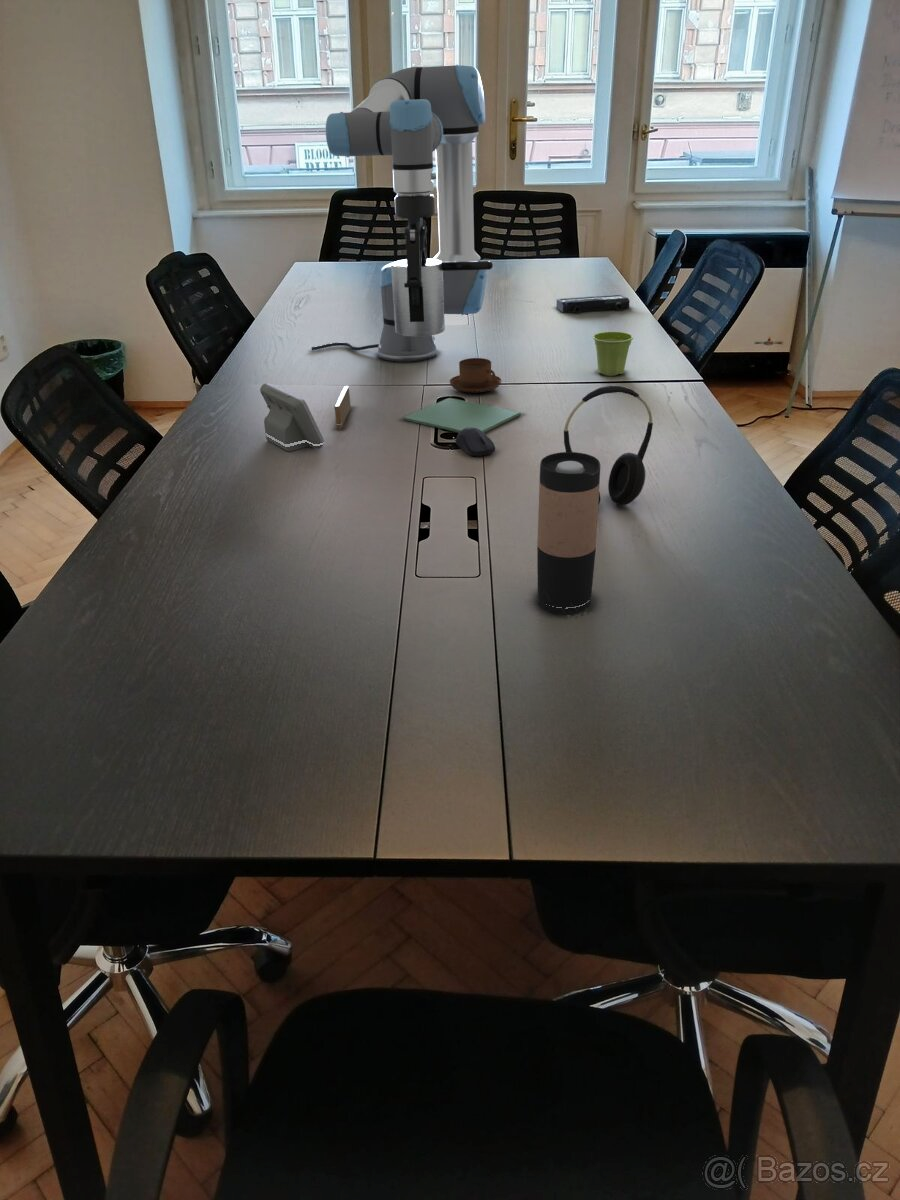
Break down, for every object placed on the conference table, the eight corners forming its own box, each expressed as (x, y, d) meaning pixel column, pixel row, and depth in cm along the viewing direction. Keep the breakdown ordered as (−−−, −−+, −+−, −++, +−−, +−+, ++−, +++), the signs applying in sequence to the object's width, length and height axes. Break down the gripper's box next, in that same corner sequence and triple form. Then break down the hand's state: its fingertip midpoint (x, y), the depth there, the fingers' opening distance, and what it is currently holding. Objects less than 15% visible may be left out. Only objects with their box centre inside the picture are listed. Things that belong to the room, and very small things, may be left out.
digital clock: (327, 450, 172) (322, 396, 167) (282, 458, 169) (275, 404, 163) (302, 426, 185) (296, 375, 179) (260, 433, 182) (252, 382, 176)
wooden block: (336, 429, 182) (334, 406, 180) (346, 408, 195) (344, 385, 192) (341, 429, 182) (339, 406, 180) (350, 408, 194) (348, 385, 192)
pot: (357, 304, 171) (436, 211, 162) (365, 293, 180) (440, 205, 171) (419, 361, 176) (499, 275, 167) (423, 348, 185) (500, 265, 176)
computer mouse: (473, 459, 165) (473, 439, 163) (450, 445, 173) (450, 425, 171) (499, 454, 168) (499, 434, 166) (475, 439, 175) (475, 420, 173)
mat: (403, 419, 186) (403, 417, 186) (449, 400, 197) (449, 397, 197) (476, 436, 176) (476, 433, 176) (520, 414, 187) (520, 412, 187)
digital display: (565, 303, 266) (556, 297, 274) (564, 314, 267) (555, 308, 276) (632, 298, 268) (621, 293, 277) (631, 309, 270) (620, 303, 279)
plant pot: (630, 378, 208) (632, 341, 203) (589, 377, 209) (591, 340, 205) (631, 367, 215) (633, 331, 211) (592, 366, 217) (594, 331, 213)
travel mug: (531, 589, 123) (534, 453, 112) (585, 585, 123) (593, 449, 113) (541, 617, 116) (545, 475, 106) (598, 613, 116) (608, 472, 106)
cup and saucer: (509, 384, 207) (509, 357, 203) (489, 399, 197) (489, 371, 194) (462, 379, 211) (462, 353, 208) (441, 393, 202) (440, 366, 199)
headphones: (655, 510, 144) (667, 389, 134) (568, 520, 142) (574, 398, 132) (636, 490, 151) (645, 374, 141) (553, 499, 149) (557, 382, 139)
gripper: (429, 200, 155) (433, 328, 167) (438, 187, 175) (442, 302, 186) (387, 201, 156) (394, 329, 167) (401, 188, 175) (406, 303, 187)
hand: (419, 315), depth 177 cm, fingers closed on pot, 10 cm apart
